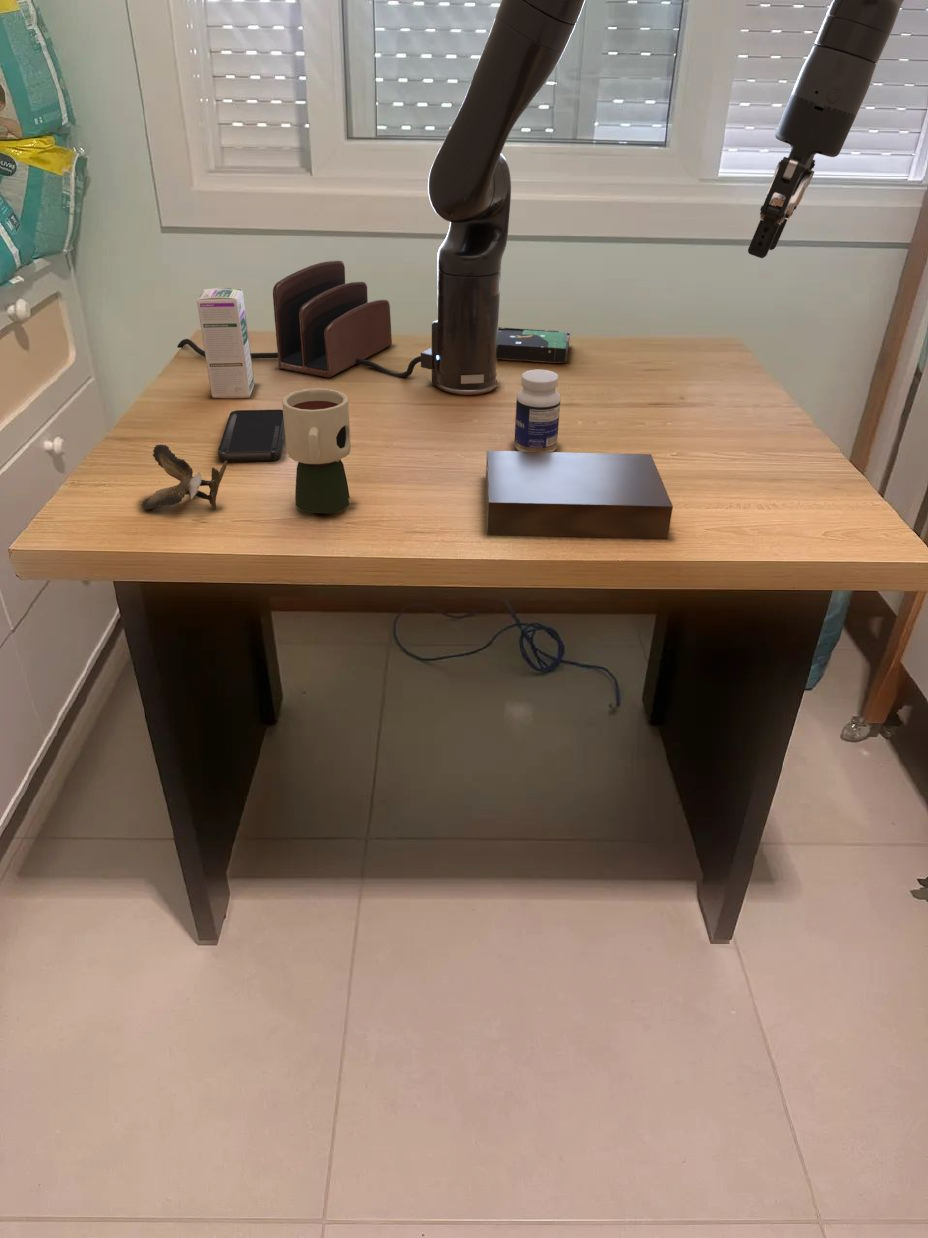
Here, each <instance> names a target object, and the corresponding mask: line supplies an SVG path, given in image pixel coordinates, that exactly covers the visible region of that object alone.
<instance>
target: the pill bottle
mask: <svg viewBox="0 0 928 1238" xmlns="http://www.w3.org/2000/svg"><path fill="white" fill-rule="evenodd" d="M520 379H521V381H520V382H521V383H520V385H521V386H522V388H521V389H520V390H519V391H518V393H517V395H516V404H515V405H516V406H515V423H514V441H513V443H514V444H513V445H514V447H515V449H516V451H525V452H555V450H556V449H557V447H558V439H559V425H560V410H561V395H560V393H559V392H558V391H557V390H556V389H557V387H559V375H558V374H557V372H555V371H551V370H548V369H541V368H540V369H538V368H537V369H529V370H526V371H524V372H523V373H522V374H521V378H520Z"/></svg>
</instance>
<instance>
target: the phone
mask: <svg viewBox="0 0 928 1238" xmlns="http://www.w3.org/2000/svg"><path fill="white" fill-rule="evenodd" d="M222 434H223V435H222V437H221V440H220V443H219V446H218V448H217V453H218V459H219V461H220V462H223V463H224V462H225V461H227V463H229V462H230V463H231V462H235V463H236V462H273V461H277V460H280V459H281V457H282V452H283V447H284V442H285V427H284V417H283V409H235V410H233V411H231V412H230V413H229V415H228V418H227V421H226V425H225V427H224V431H223V433H222Z"/></svg>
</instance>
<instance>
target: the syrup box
mask: <svg viewBox="0 0 928 1238" xmlns="http://www.w3.org/2000/svg"><path fill="white" fill-rule="evenodd" d="M196 305H197V309H198V310H197V311H198V318H199V324H200V331H201V332H200V333H201V337H202V344H203V351H205V357H204V358H205V362H206V369H207V374H208V381H209V387H210V392H211V393H210V394H211V397H212V398H215V399H247V398H248V399H249V398H250V397H251V394H252V392H253V390H254V387H255V383H256V382H255V377H254V376H255V375H254V368H253V362H252V361H253V359H251V353H252V352H251V345H250V338H249V330H248V323H247V316H246V308H245V300H244V293H243V289H242V288H237V287H235V288H234V287H233V288H232V287H213V288H203V291H202V293H200V295H199V296H198V298H197V299H196Z"/></svg>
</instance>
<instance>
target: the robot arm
mask: <svg viewBox="0 0 928 1238" xmlns="http://www.w3.org/2000/svg"><path fill="white" fill-rule="evenodd" d="M904 1H905V0H831V2H830V4H829V7H828V9H827V11H826V13H825V16H824V18H823V21H822V23H821V25H820V28H819V30H818V33H817V35H816V38H815V41H814V43H813V46H812V47H811V49H810V52H809V53H808V56H807V57H806V59H805V61H804V63H803V65H802V67H801V69H800V71H799V74H798V76H797V78H796V81H795V83H794V85H793V89H792V91H791V93H790V96H789V98H788V101H787V103H786V106H785V108H784V111H783V113H782V115H781V118H780V120H779V122H778V125H777V128H776V130H775V133H774V137H775V138H776V140H778V141H780V142H782V143H785V144H788V145H790V152H789V154H788V156H783V158H782V159H781V160H780V161H779V162H778V163H777V166H776V167H775V169H774V173H773V177H772V180H771V183H770V184H769V187H768V188H767V191H766V193H765V198H764V203H763V205H761V206H760V209H759V211H760V213H759V219H760V220H759V222H758V225H757V227H756V229H755V232H754V234H753V236H752V239H751V241H750V243H749V246H748V249H747V253H748V254H749V255H751V256H754V257H756V258H759V259H764V258H765V257H767V256H768V254H769V251H773V250H775V249H776V247H777V245H778V243H779V241H780V239H781V237H782V234H783V231H784V229H785V227H786V224H787V222H788V220H790V218H791V217H793V214H794V211H796V210H797V208H798V206H799V205H800V202H801V201H802V199H803V196H804V195H805V192H806V189H807V188H808V187H809V185H810V183H811V182H812V179H813V177H814V174H815V170H813V169H814V168H815V166H816V160H815V155H816V154H819V155H822V156H825V157H829V158H836V157H838V156H839V155H840V153H841V152H842V149H843V146H844V144H845V142H846V140H847V138H848V135H849V133H850V131H851V129H852V126H853V124H854V122H855V120H856V117H857V116H858V113H859V111H860V108H861V106H862V104H863V102H864V100H865V98H866V96H867V94H868V91H869V88H870V85H871V82H872V79H873V75H874V73H875V70H876V68H877V64H878V62H879V60H880V58H881V56H882V53H883V51H884V50H885V47H886V45H887V42H888V40H889V38H890V35H891V33H892V31H893V28H894V26H895V23H896V21H897V18H898V15H899V12H900V9H901V7H902V5H903V3H904ZM585 2H586V0H501V2H500V5H499V7H498V9H497V11H496V14H495V17H494V20H493V23H492V25H491V28H490V32H489V34H488V37H487V39H486V41H485V45H484V47H483V49H482V52H481V55H480V57H479V60H478V62H477V65H476V68H475V70H474V73H473V75H472V79H471V81H470V84H469V87H468V89H467V92H466V95H465V96H464V99H463V102H462V104H461V105H460V106H461V107H460V108H459V110H458V112H457V115H456V117H455V119H454V121H453V123H452V124H451V126H450V128H449V130H448V132H447V134H446V136H445V138H444V140H443V142H442V144H441V146H440V147H439V150H438V152H437V153H436V156H435V157H434V160H433V162H432V165H431V168H430V171H429V175H428V180H427V181H428V182H427V193H428V197H429V198H428V199H429V202H430V204H431V207H432V209H433V210H434V212H435V213H436V215H438V216H439V217H440V218H441V219H442V220H443V221H446V222H448V223H449V228H448V232H447V234H446V237H445V239H444V240H443V242H442V243H441V245H440V246H439V248H438V251H437V256H436V258H437V261H436V262H437V265H436V267H437V274H436V278H437V281H436V282H437V283H436V284H437V288H436V289H437V291H436V292H437V293H436V294H437V295H436V296H437V297H436V298H437V299H436V305H437V306H436V309H437V310H436V312H437V313H436V314H437V316H436V318H437V319H436V320H434V321H433V322H432V323H431V347H430V348H428V349H425V350H423V351H422V352H420V355H419V356H417V357H414V358H413V359H412V360H411V361H409V363H408V366H407V369H406V371H404V372H400V373H399V372H393V371H391V370H388V369H387V368H385V367H383V366H381V365H380V364H377V363H376V362H373V361H371V360H368V359H360V358H357V359H356V363H357V364H358V365H361V366H366V367H368V368H369V367H370V368H372V369H373V370H376V371H377V372H380V373H381V374H385V375H389V376H393V377H395V378H400V379H406V378H408V377H410V376H411V375H412V374H413V372H414V369H415V366H416V365H417V364H418V363H420V368H422V369H426V370H431V385H432V386H436V387H437V388H438V389H440V390H441V391H444V392H446V393H450V394H455V395H462V396H464V395H465V396H467V395H468V396H473V395H474V396H475V395H481V394H485V393H489V392H491V391H494V390H495V389H496V388H497V386H498V380H497V376H498V372H497V369H498V359H497V350H498V327H500V325H499V321H500V299H501V277H502V276H501V274H502V271H501V270H502V261H503V256H504V253H505V251H506V247H507V243H508V238H509V237H508V236H509V223H510V213H511V212H510V211H511V202H512V201H511V199H512V178H511V171H510V167H509V165H508V162H507V160H506V158H505V156H504V155H503V153H502V152H503V149H504V147H505V144H506V142H507V140H508V138H509V136H510V134H511V131H512V130H513V128H514V127H515V125H516V123H517V122H518V120H519V119H520V117H521V116H522V115H523V114H524V112H525V111H526V109H527V108H528V107H529V105H530V104H531V103H532V102H533V100H534V99H535V98H536V96H537V95H538V94H539V92H540V91H541V89H542V88H543V87H544V85H545V84H546V83H547V81H548V80H549V78H550V76H551V75H552V74H553V72H554V71H555V69H556V67H557V65H558V63H559V61H560V60H561V58H562V56H563V54H564V52H565V50H566V47H567V45H568V43H569V41H570V38H571V36H572V35H573V32H574V31H575V27H576V25H577V23H578V20H579V18H580V16H581V13H582V11H583V7H584V4H585ZM186 345H188V346H189V347H190V348H191V349H192V350H193V351H194V352H196V354H198V355H200V356H202V357H204V358H206V357H205V351H204V349H202V348H201V347H199V346H198V344H196V343H195V342H194V341H193V340H191V339H189V338H184V339H182V340H181V341H179V342H178V344H177V346H176V347H177V348H178V349H183V348H184V347H185V346H186ZM255 359H257V360H258V359H278V351H277V352H251V360H255ZM357 364H356V365H357Z"/></svg>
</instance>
